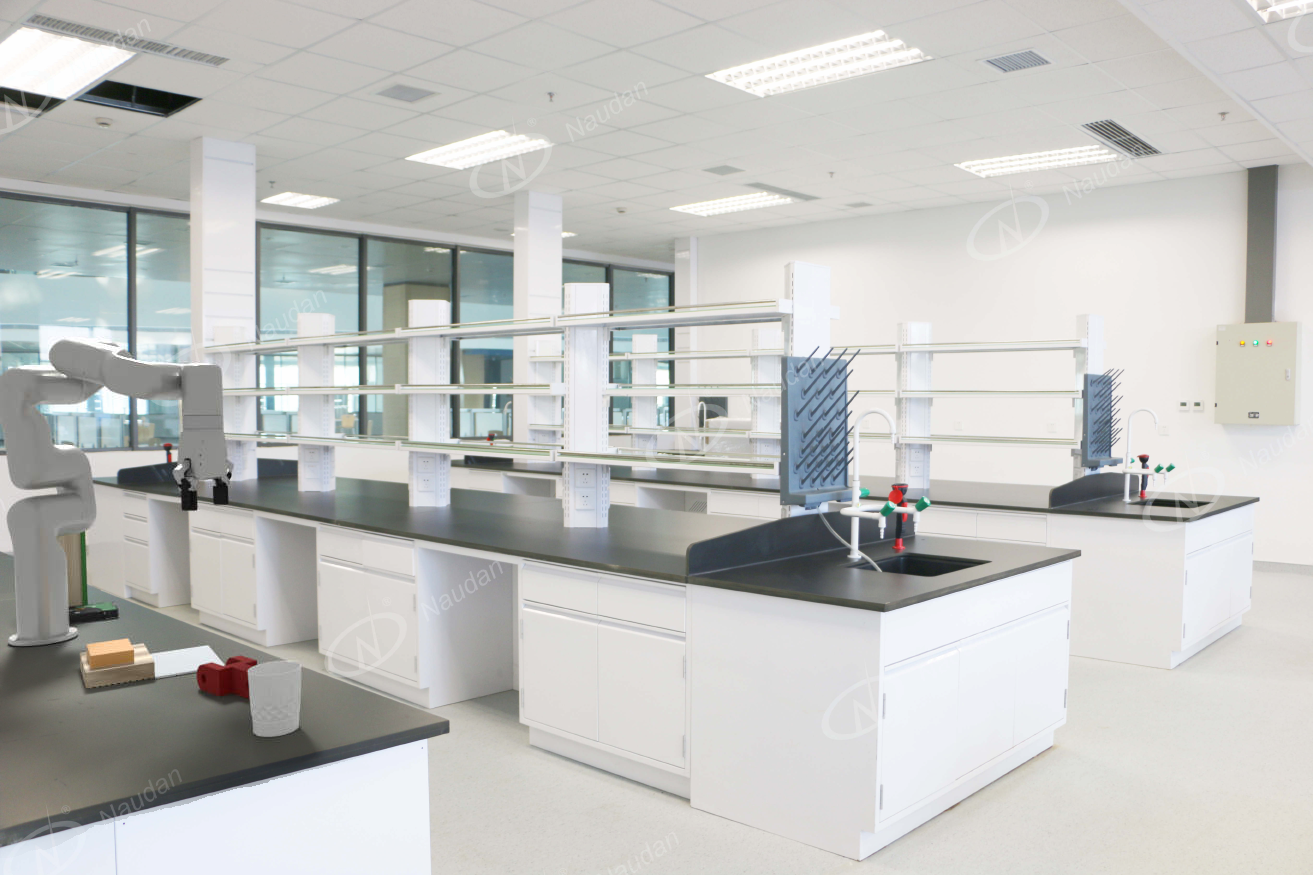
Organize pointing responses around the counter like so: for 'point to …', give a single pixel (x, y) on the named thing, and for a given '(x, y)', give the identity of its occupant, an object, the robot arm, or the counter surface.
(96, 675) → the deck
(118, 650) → the slab
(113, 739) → the counter surface
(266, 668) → the white cup
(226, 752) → the counter surface
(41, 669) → the counter surface
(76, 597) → the hardback book
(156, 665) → the mat
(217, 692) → the mechanical linkage
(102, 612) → the disk drive
